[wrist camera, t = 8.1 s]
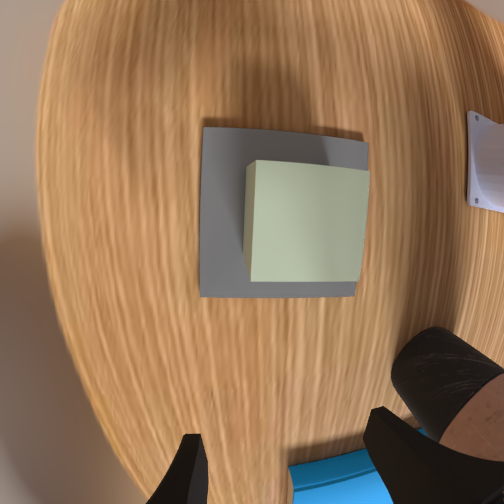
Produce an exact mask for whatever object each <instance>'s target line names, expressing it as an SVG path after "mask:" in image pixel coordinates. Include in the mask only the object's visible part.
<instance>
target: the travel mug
mask: <svg viewBox="0 0 504 504" xmlns="http://www.w3.org/2000/svg"><path fill="white" fill-rule="evenodd" d="M391 378H392V383H393V386H394V388H395V389H396V391H397V392H398V394H399V395H400V397H401V398H402V400H403V401H404V403H405V404H406V405H407V407H408V408H409V410H410V411H411V412H412V414H413V415H414V417H415V418H416V420H417V421H418V423H419V424H420V425H421V427H422V428H423V430H424V431H425V433H426V434H427V436H428V437H429V438H430V439H432V440H434V441H436V442H438V443H440V444H442V445H444V446H446V447H448V448H450V449H453V450H455V451H458V452H461V453H464V454H467V455H470V456H473V457H477V458H482V459H487V460H493V461H504V369H503V368H502V367H500V366H499V365H498V364H496V363H495V362H493V361H492V360H491V359H489V358H488V357H486V356H485V355H484V354H482V353H481V352H479V351H478V350H476V349H475V348H474V347H472V346H471V345H469V344H468V343H466V342H465V341H463V340H462V339H460V338H459V337H458V336H456V335H455V334H453V333H451V332H450V331H448V330H447V329H445V328H442V327H433V328H429V329H427V330H424V331H423V332H421V333H419V334H418V335H417V336H415V337H414V338H413V339H412V340H411V341H410V342H409V343H408V344H407V345H406V346H405V347H404V349H403V350H402V351H401V353H400V354H399V356H398V357H397V359H396V361H395V364H394V366H393V369H392V376H391ZM503 493H504V492H503ZM503 500H504V499H503Z"/></svg>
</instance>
